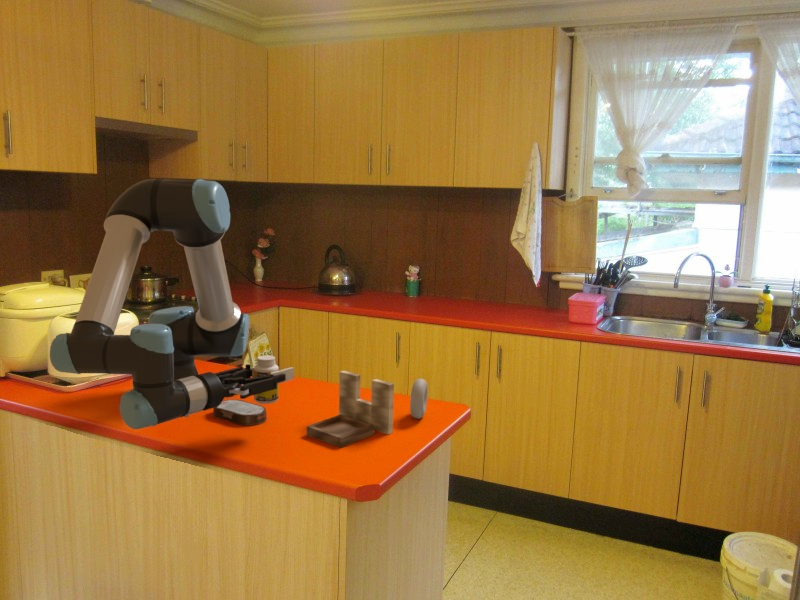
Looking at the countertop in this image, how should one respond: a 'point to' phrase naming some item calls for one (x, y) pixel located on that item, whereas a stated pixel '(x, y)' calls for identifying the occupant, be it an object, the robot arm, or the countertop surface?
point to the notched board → (367, 402)
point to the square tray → (340, 430)
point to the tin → (240, 412)
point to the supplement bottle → (262, 369)
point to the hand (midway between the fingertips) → (283, 370)
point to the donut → (419, 398)
